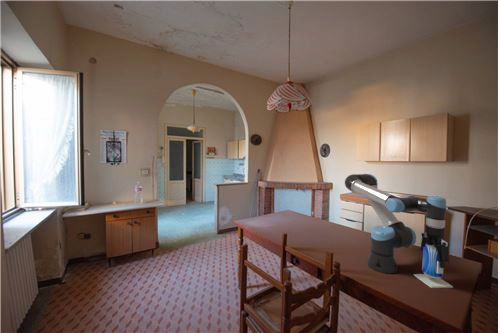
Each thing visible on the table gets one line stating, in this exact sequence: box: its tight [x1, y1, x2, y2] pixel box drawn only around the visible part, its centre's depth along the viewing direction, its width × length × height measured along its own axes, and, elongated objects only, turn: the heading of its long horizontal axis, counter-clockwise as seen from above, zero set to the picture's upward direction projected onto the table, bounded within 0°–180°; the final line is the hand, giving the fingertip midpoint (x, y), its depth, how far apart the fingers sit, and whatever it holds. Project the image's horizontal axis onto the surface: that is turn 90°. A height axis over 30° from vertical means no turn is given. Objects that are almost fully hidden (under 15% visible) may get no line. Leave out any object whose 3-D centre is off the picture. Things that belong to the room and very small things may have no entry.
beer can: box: [421, 244, 445, 279], centre depth 111 cm, size 8×8×16 cm
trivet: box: [413, 273, 454, 289], centre depth 111 cm, size 11×11×1 cm
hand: (433, 269), depth 110 cm, fingers closed on beer can, 7 cm apart
